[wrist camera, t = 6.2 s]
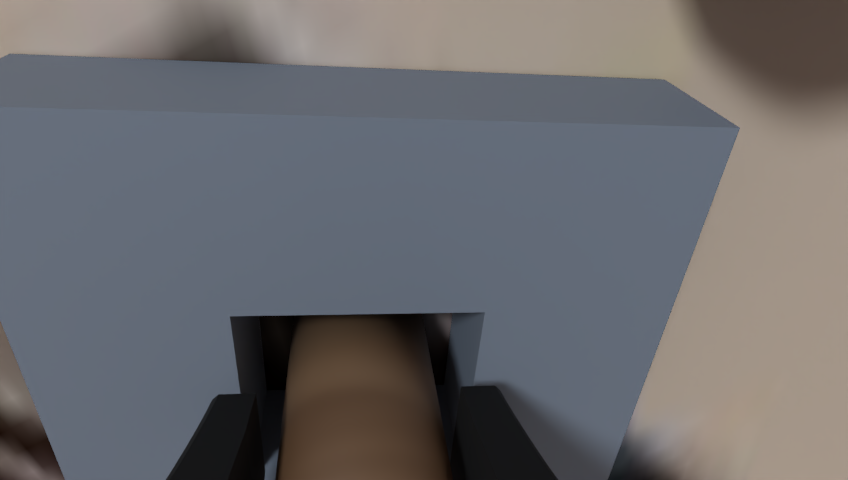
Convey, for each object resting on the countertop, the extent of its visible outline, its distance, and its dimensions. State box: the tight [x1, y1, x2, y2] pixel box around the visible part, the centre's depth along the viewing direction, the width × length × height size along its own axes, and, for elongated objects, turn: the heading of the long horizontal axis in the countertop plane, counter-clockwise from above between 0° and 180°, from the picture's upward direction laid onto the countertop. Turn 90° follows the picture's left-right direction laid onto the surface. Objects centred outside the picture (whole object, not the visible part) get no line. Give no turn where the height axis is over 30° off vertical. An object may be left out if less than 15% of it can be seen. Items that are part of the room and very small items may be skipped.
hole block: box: [0, 54, 740, 480], centre depth 12 cm, size 11×11×2 cm
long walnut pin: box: [275, 313, 453, 480], centre depth 10 cm, size 3×3×7 cm
